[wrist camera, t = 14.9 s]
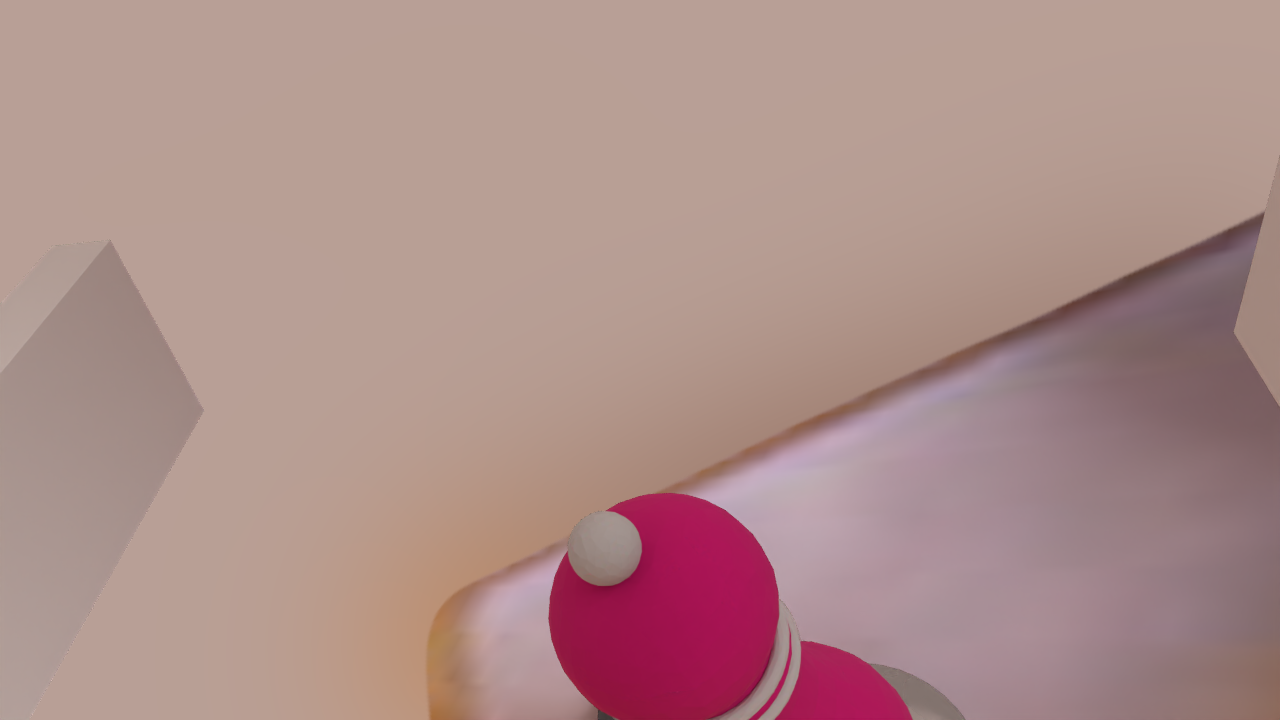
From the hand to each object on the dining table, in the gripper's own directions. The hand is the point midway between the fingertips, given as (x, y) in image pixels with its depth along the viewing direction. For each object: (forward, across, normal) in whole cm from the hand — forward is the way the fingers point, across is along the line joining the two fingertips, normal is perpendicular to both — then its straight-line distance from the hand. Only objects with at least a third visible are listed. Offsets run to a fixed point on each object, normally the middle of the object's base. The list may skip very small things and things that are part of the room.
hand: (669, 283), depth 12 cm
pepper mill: (+10, +2, -30) cm, 32 cm away
